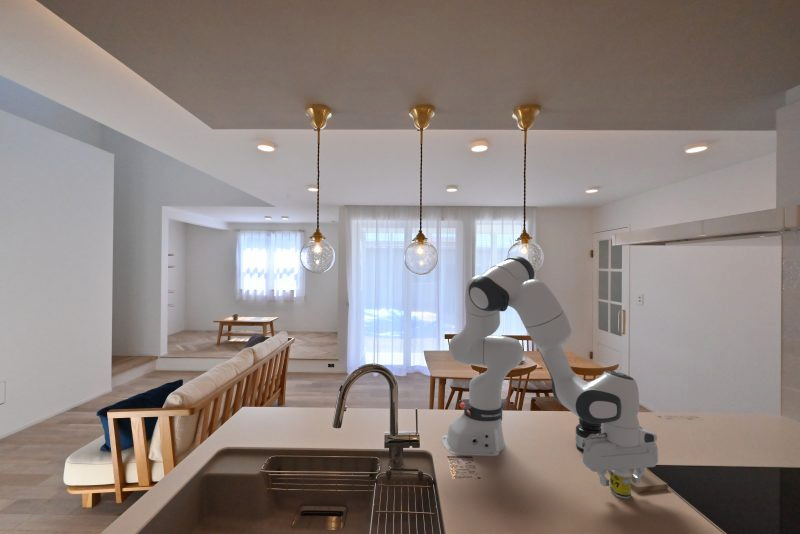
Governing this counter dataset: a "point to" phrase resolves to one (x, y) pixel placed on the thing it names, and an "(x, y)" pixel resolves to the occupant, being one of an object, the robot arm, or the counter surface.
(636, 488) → the tan slab
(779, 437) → the counter surface
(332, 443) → the counter surface
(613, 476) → the supplement bottle
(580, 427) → the ink bottle
